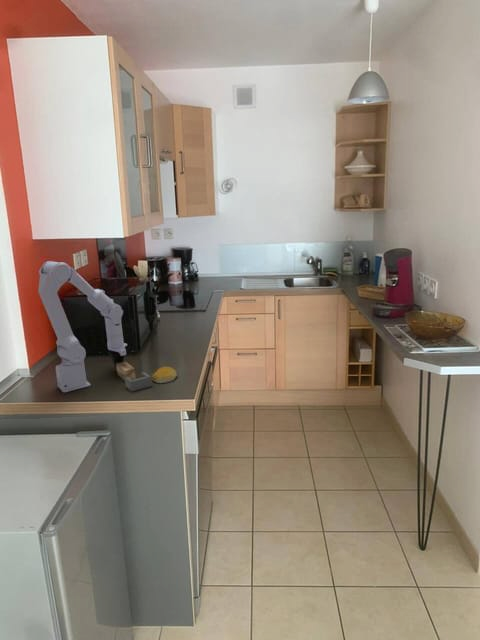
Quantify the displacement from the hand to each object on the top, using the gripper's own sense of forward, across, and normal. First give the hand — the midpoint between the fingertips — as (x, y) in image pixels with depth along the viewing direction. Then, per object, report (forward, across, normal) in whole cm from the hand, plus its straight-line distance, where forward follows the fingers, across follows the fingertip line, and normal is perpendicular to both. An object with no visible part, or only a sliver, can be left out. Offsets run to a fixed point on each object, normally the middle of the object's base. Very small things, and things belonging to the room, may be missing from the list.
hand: (119, 369), depth 178 cm
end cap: (+1, -19, 0) cm, 19 cm away
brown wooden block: (+1, -7, 0) cm, 7 cm away
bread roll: (+2, -18, -10) cm, 21 cm away
